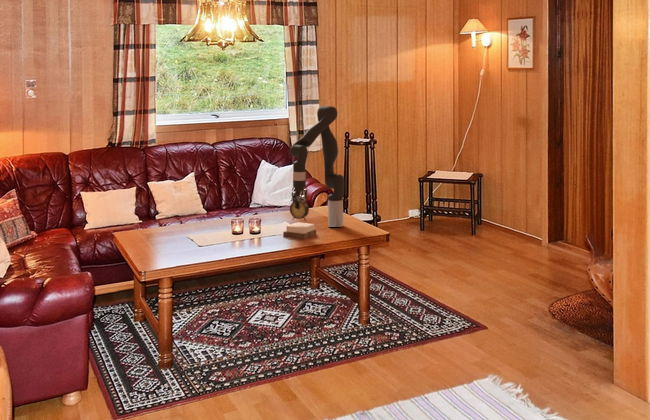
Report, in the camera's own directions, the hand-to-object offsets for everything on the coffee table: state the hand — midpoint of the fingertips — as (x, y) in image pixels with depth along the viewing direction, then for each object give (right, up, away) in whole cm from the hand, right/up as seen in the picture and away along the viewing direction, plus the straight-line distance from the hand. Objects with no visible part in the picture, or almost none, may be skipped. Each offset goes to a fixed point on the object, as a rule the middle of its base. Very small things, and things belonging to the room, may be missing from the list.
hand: (299, 207), depth 418 cm
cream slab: (0, -14, +3) cm, 14 cm away
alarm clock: (0, -7, +1) cm, 8 cm away
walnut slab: (0, -17, +3) cm, 17 cm away
